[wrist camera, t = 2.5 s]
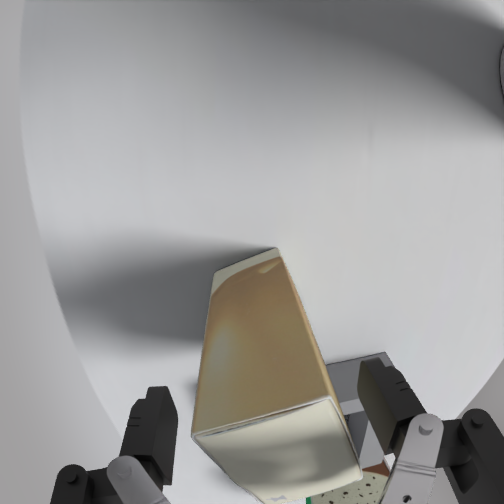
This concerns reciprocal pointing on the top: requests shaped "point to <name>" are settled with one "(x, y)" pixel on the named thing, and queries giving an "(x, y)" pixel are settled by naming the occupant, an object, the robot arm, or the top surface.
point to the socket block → (357, 408)
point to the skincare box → (268, 389)
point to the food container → (357, 488)
